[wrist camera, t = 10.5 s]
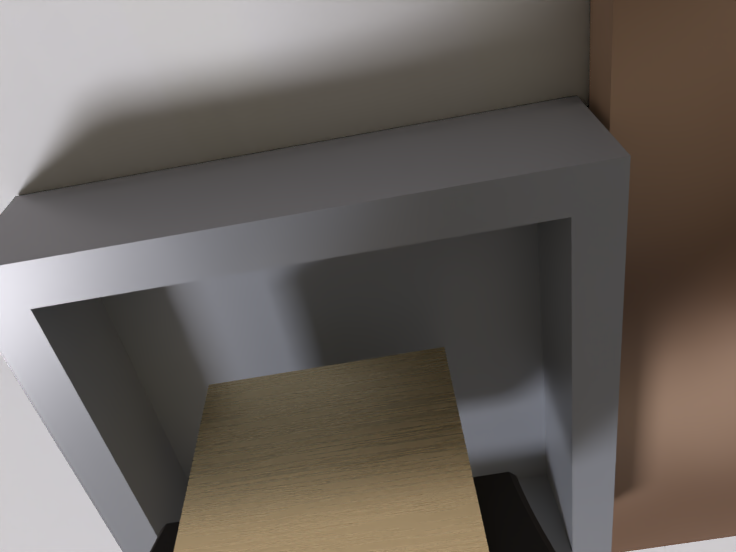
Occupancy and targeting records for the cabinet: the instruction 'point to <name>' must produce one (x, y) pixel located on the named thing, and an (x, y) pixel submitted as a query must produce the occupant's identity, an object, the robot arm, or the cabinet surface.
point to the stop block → (334, 463)
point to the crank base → (673, 263)
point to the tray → (335, 300)
